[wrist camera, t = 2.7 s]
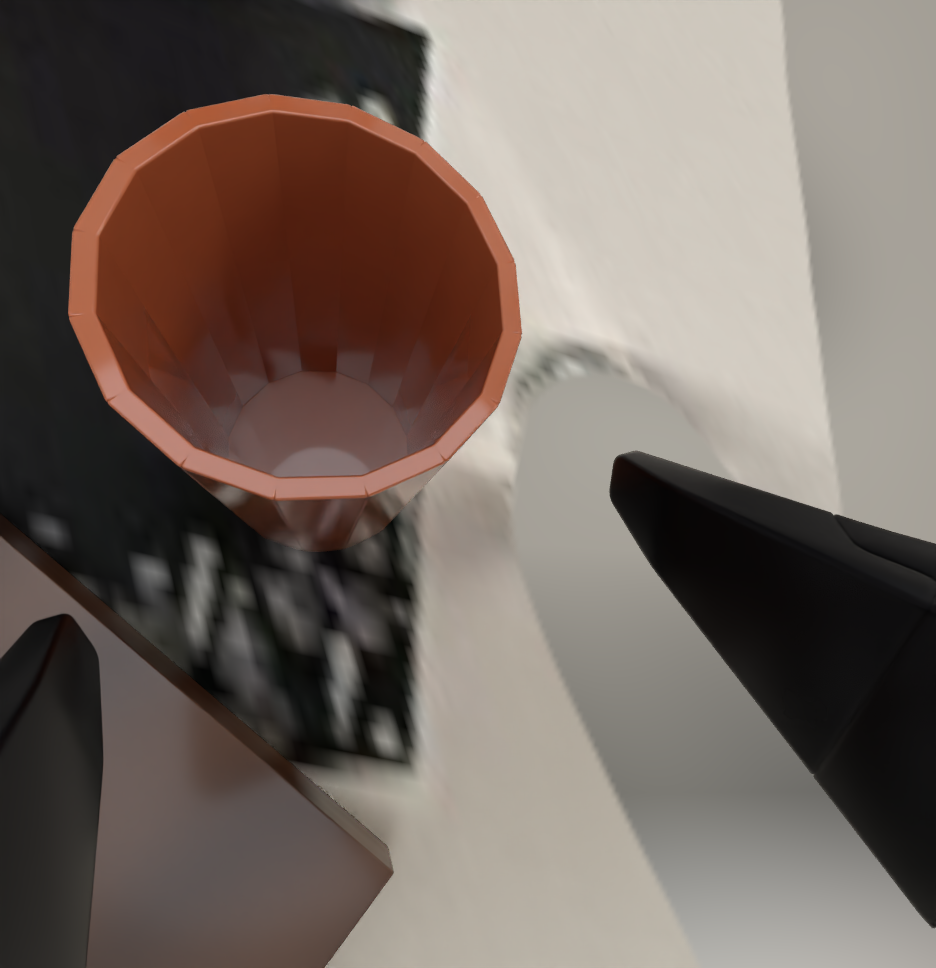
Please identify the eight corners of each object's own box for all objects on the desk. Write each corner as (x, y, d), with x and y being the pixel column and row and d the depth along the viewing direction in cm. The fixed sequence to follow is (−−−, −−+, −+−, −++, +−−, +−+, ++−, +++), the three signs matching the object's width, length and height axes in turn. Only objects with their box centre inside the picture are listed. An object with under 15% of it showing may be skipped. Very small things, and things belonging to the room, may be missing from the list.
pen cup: (450, 455, 21) (594, 302, 10) (325, 592, 19) (324, 596, 8) (317, 333, 21) (308, 26, 10) (176, 459, 19) (-50, 265, 8)
